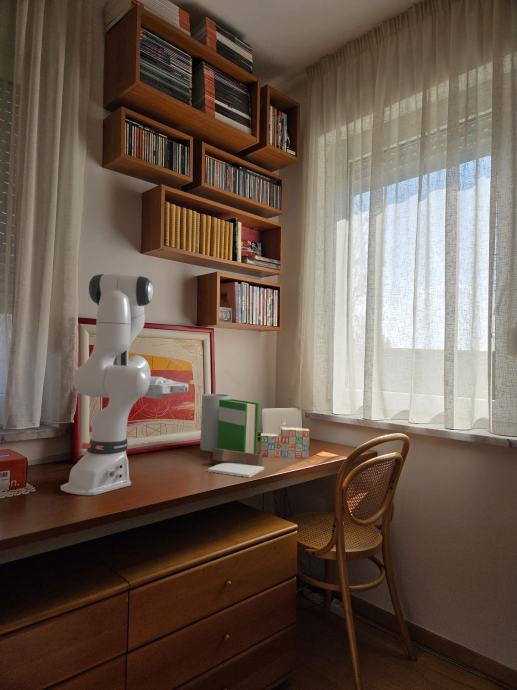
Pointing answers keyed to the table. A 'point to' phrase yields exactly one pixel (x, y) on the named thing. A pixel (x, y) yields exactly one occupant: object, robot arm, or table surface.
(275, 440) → the stack of blocks
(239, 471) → the white flat panel
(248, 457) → the wooden block
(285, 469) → the table surface
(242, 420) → the hardback book
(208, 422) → the cylinder vase
